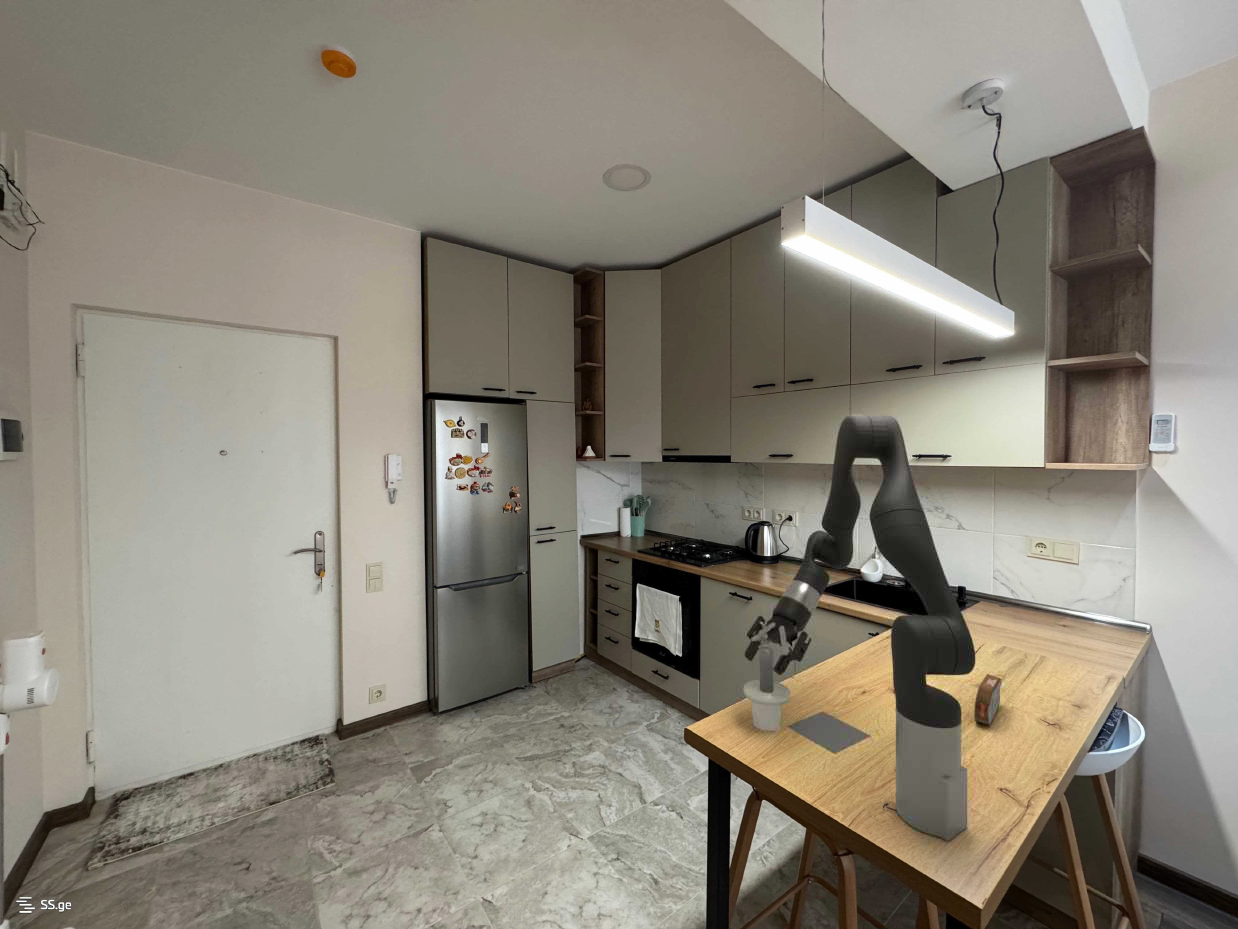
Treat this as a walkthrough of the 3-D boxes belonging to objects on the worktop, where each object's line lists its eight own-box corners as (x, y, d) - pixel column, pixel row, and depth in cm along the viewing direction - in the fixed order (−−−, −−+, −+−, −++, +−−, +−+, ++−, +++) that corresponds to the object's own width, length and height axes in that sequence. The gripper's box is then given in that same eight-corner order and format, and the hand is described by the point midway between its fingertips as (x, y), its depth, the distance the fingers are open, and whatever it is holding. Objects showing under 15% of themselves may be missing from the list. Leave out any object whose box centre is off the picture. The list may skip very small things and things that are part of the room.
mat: (871, 737, 107) (871, 735, 107) (834, 755, 101) (834, 753, 101) (822, 712, 117) (822, 711, 117) (786, 727, 111) (786, 726, 111)
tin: (986, 702, 121) (986, 667, 121) (1003, 707, 119) (1003, 671, 119) (972, 727, 111) (972, 689, 110) (990, 732, 108) (990, 693, 108)
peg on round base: (800, 697, 110) (800, 652, 110) (767, 709, 105) (767, 662, 105) (765, 680, 119) (765, 638, 119) (734, 690, 114) (733, 646, 114)
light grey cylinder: (761, 736, 108) (760, 703, 108) (744, 720, 115) (744, 689, 115) (789, 731, 110) (789, 699, 110) (771, 715, 116) (771, 685, 116)
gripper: (765, 588, 122) (729, 645, 116) (815, 603, 109) (778, 668, 104) (780, 606, 124) (747, 663, 119) (831, 623, 112) (796, 687, 107)
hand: (761, 665), depth 111 cm, fingers open, 8 cm apart
